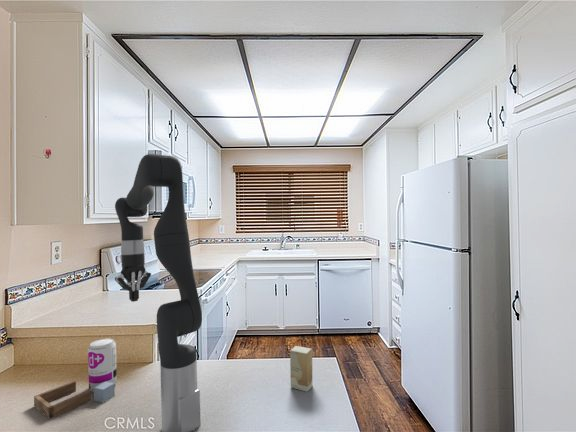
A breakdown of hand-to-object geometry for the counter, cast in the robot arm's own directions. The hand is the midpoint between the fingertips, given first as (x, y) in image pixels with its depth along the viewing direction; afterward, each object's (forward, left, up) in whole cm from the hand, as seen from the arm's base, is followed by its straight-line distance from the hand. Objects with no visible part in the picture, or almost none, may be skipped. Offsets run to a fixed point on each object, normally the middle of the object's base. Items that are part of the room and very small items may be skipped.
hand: (134, 301), depth 114 cm
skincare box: (-54, -25, -27) cm, 66 cm away
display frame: (+4, +21, -27) cm, 35 cm away
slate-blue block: (-4, +13, -27) cm, 30 cm away
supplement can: (+4, +10, -27) cm, 29 cm away
